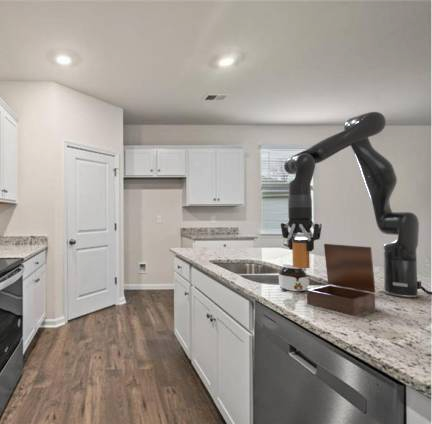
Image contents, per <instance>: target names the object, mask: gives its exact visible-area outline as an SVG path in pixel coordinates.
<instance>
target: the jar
mask: <svg viewBox="0 0 432 424" xmlns="http://www.w3.org/2000/svg"><path fill="white" fill-rule="evenodd" d="M307 241H308V240H307V238H306V237H294V238H292V251H291V252H292V255H291V257H292V263H293V267H296V268H302V269H310V266H311V265H310V251H307Z"/></svg>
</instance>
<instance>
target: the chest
mask: <svg viewBox="0 0 432 424" xmlns="http://www.w3.org/2000/svg"><path fill="white" fill-rule="evenodd" d="M306 305H309V306H312V307H317V308H320V309H325V310H328V311H332V312H336V313H340V314H344V315H348V316H351V317H355V316H359V315H362V314H364V313H367V312H370V311H373V310H375V309H376V294H375V292H369V291H364V292H363V291H358V290H352V289H347V288H342V287H337V286H335V285H331V284H327V285H323V286H318V287H313V288H308V289H306Z"/></svg>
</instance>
